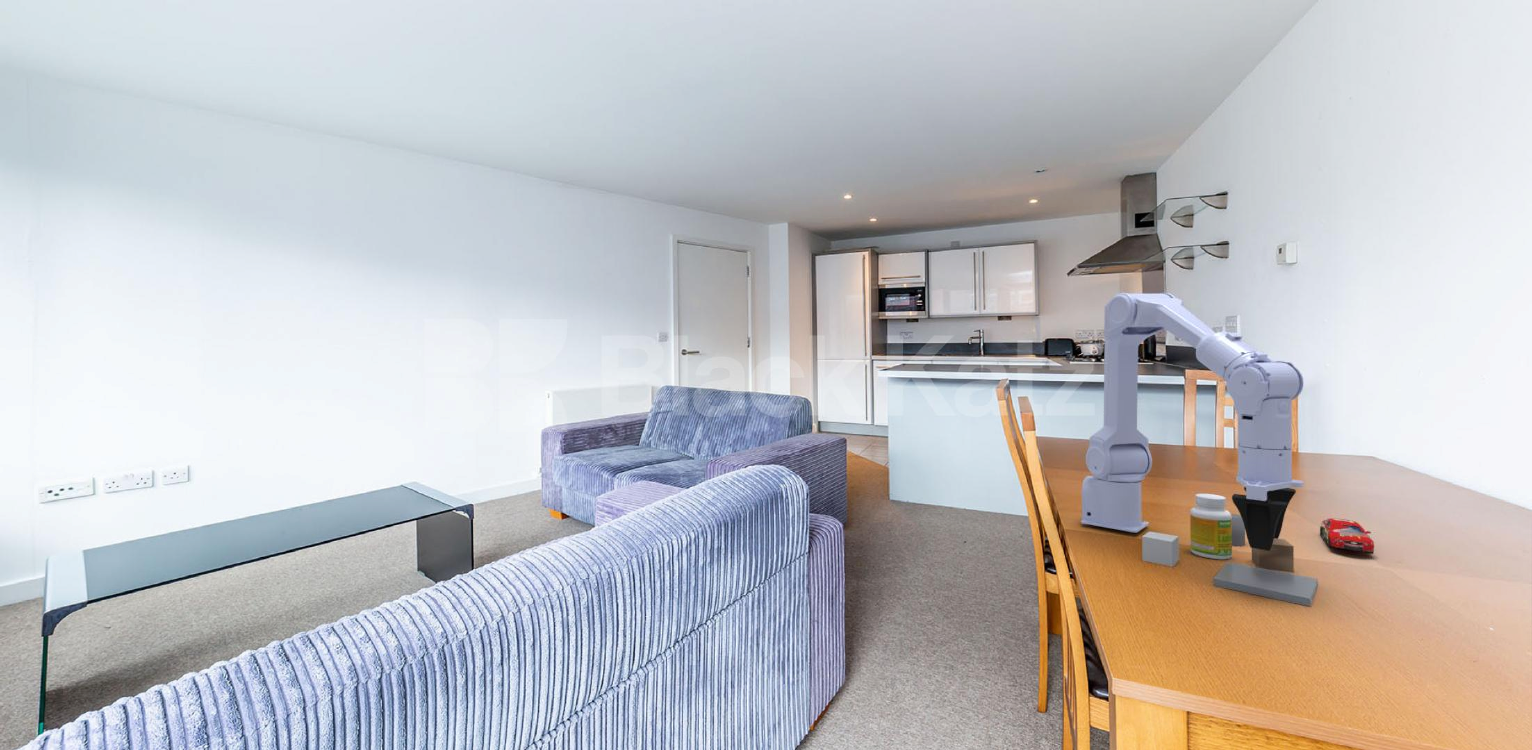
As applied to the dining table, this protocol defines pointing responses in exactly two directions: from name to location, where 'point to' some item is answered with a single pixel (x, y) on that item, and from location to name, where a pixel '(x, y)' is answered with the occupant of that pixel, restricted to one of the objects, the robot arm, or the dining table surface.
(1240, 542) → the slate grey block
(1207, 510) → the supplement bottle
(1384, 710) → the dining table surface
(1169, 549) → the grey block
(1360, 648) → the dining table surface
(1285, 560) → the walnut block
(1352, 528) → the race car
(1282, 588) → the slate tile
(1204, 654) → the dining table surface
